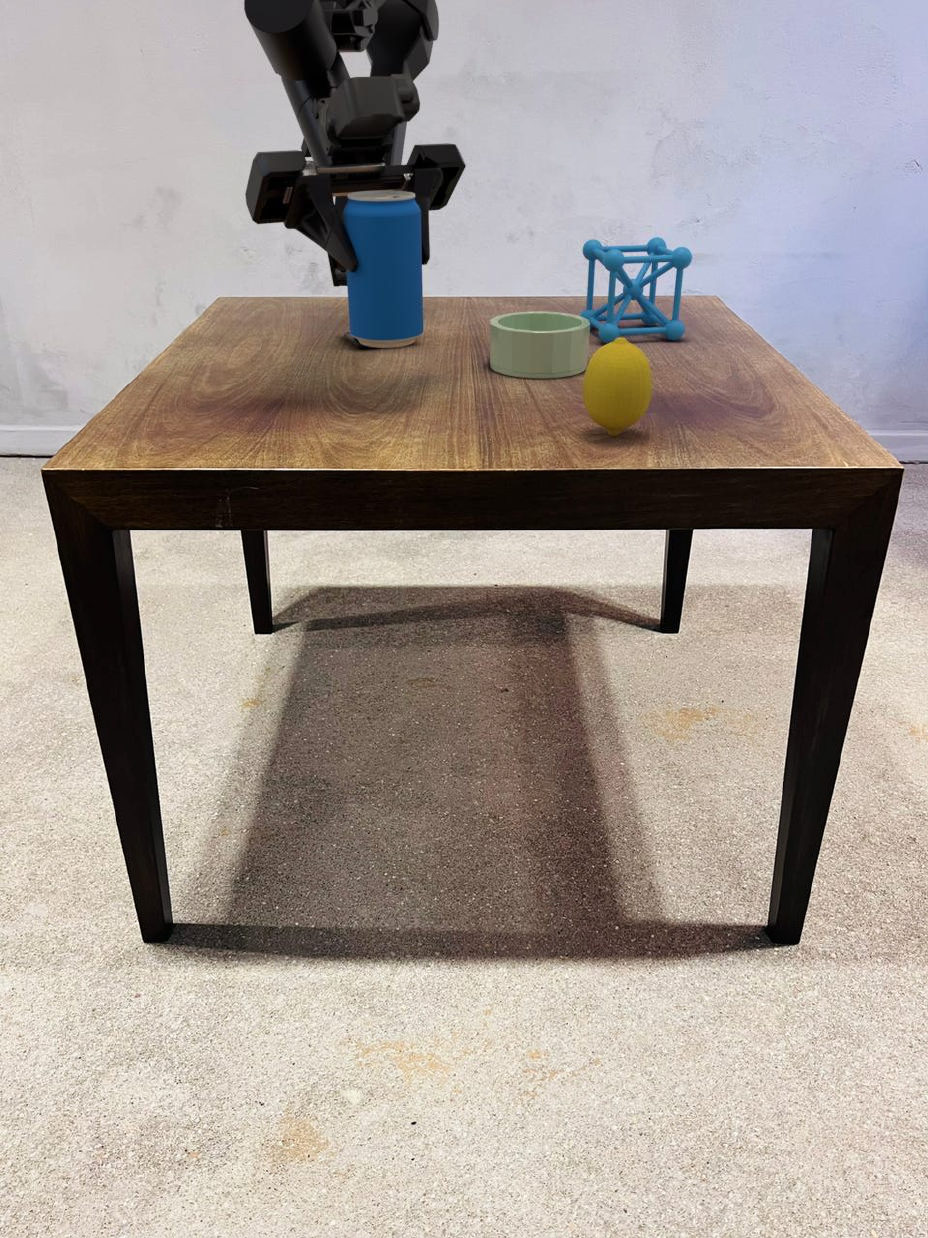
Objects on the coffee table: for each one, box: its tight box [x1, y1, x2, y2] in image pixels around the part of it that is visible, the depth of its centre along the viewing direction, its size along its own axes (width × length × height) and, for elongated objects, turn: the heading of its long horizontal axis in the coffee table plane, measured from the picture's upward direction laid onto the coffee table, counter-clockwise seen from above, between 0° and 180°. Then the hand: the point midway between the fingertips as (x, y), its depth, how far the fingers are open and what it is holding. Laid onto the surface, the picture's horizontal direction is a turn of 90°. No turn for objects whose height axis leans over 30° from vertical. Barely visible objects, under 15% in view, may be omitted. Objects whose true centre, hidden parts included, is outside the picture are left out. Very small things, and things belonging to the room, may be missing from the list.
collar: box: [489, 310, 591, 380], centre depth 100 cm, size 10×10×4 cm
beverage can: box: [343, 190, 424, 349], centre depth 84 cm, size 6×6×12 cm
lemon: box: [582, 336, 653, 436], centre depth 79 cm, size 6×6×8 cm
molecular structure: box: [579, 236, 693, 345], centre depth 111 cm, size 10×10×10 cm
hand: (391, 265), depth 83 cm, fingers closed on beverage can, 6 cm apart
